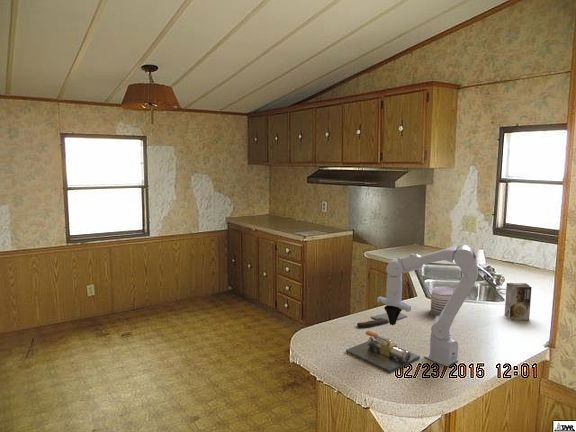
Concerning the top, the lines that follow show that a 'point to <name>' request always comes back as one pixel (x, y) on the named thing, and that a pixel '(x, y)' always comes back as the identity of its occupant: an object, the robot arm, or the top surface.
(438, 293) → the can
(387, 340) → the lever
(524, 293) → the coffee box
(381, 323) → the cleaver
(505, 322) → the top surface
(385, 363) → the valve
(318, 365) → the top surface
